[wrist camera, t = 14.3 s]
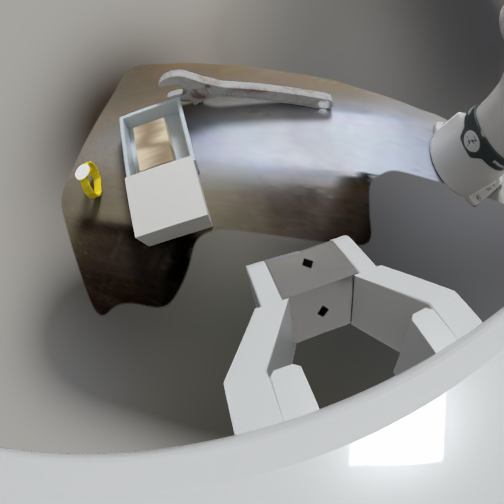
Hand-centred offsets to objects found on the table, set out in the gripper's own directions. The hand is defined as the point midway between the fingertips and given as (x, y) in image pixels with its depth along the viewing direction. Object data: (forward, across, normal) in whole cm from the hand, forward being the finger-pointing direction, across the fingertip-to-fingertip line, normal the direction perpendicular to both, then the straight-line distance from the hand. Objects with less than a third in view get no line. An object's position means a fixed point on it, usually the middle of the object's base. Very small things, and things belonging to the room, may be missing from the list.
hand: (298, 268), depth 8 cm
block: (+36, +8, +7) cm, 38 cm away
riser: (+35, +8, +12) cm, 38 cm away
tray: (+43, +8, +4) cm, 44 cm away
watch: (+41, +20, +6) cm, 46 cm away
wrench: (+46, -9, +1) cm, 47 cm away
